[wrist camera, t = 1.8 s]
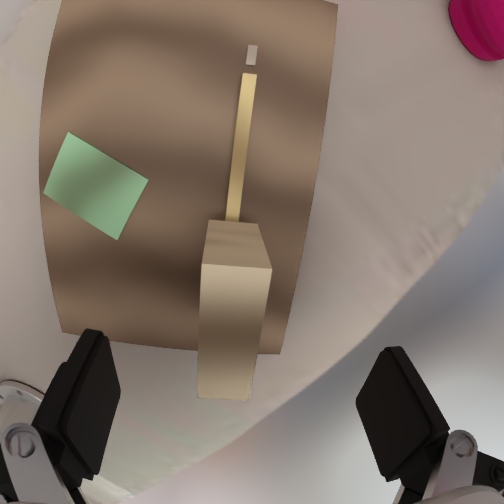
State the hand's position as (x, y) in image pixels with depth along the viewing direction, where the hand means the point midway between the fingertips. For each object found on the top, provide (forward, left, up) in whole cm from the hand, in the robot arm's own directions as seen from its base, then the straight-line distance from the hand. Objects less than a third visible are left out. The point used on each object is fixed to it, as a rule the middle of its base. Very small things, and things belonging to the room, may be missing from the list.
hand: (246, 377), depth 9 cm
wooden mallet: (+3, +1, -9) cm, 10 cm away
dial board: (+4, +5, -11) cm, 13 cm away
